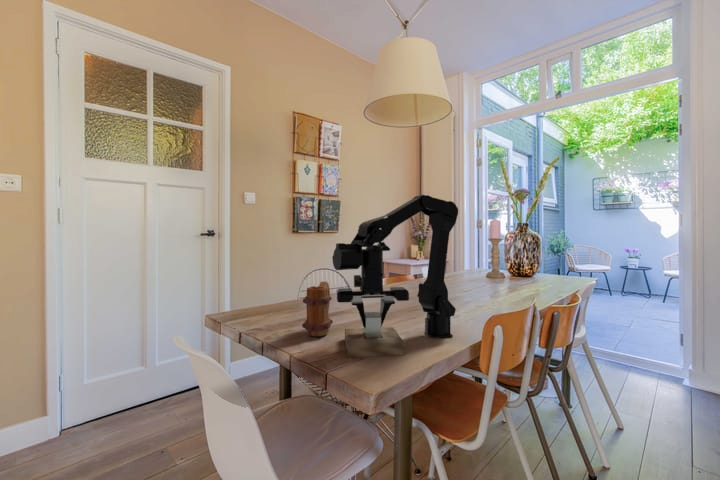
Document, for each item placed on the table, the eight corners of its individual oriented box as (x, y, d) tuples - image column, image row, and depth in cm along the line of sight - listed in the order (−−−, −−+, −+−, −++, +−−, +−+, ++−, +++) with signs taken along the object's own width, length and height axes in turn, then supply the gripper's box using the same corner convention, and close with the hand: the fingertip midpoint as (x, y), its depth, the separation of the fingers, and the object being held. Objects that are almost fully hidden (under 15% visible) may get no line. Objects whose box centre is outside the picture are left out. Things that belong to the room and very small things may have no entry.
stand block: (392, 337, 95) (392, 325, 95) (404, 354, 81) (404, 340, 81) (344, 339, 93) (344, 327, 93) (348, 357, 79) (348, 343, 79)
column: (378, 341, 89) (378, 311, 89) (381, 345, 85) (381, 315, 85) (364, 341, 89) (363, 312, 89) (366, 346, 85) (365, 315, 85)
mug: (325, 340, 92) (325, 287, 92) (298, 338, 94) (298, 286, 94) (339, 326, 107) (339, 280, 107) (315, 325, 108) (315, 279, 108)
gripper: (399, 265, 96) (399, 318, 96) (335, 266, 94) (336, 320, 94) (409, 268, 85) (409, 328, 85) (337, 270, 83) (337, 331, 83)
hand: (372, 326), depth 87 cm, fingers closed on column, 4 cm apart
